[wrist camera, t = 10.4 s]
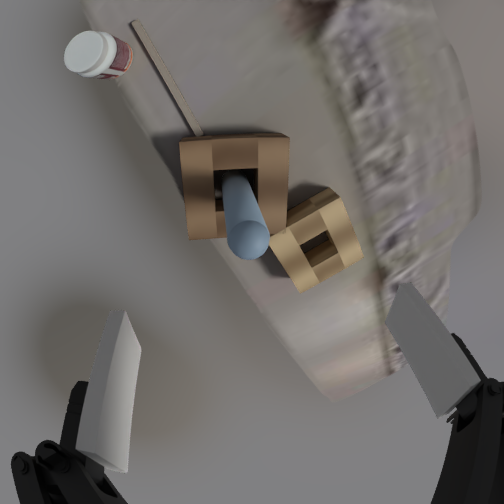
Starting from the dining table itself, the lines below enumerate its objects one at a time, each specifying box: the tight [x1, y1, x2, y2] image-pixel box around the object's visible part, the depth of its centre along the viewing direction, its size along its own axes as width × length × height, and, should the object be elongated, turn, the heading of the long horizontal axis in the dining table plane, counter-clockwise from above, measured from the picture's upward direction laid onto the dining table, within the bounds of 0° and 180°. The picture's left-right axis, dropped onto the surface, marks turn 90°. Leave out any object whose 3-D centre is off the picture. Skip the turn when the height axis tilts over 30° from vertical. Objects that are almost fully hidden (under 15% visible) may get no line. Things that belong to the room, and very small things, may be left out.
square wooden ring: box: [179, 133, 290, 240], centre depth 30 cm, size 11×11×4 cm
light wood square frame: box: [269, 188, 364, 294], centre depth 35 cm, size 10×10×4 cm
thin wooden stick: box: [132, 19, 204, 137], centre depth 24 cm, size 16×1×1 cm, turn 25°
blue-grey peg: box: [221, 169, 270, 260], centre depth 25 cm, size 3×3×15 cm
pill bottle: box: [64, 31, 133, 79], centre depth 18 cm, size 5×5×8 cm
